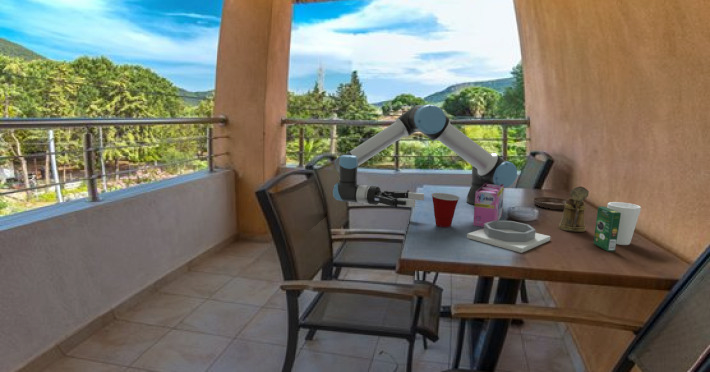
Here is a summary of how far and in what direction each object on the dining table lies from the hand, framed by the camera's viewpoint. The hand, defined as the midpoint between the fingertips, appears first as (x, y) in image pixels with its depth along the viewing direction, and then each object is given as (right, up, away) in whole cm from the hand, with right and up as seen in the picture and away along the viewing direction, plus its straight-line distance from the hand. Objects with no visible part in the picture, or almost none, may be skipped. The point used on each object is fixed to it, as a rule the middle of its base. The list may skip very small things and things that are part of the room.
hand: (419, 200), depth 162 cm
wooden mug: (+56, -11, -7) cm, 58 cm away
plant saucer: (+68, -4, +33) cm, 76 cm away
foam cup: (+65, -14, -20) cm, 70 cm away
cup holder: (+28, -13, -19) cm, 36 cm away
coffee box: (+56, -15, -27) cm, 64 cm away
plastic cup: (+9, -10, -2) cm, 14 cm away
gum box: (+29, -8, +7) cm, 31 cm away
